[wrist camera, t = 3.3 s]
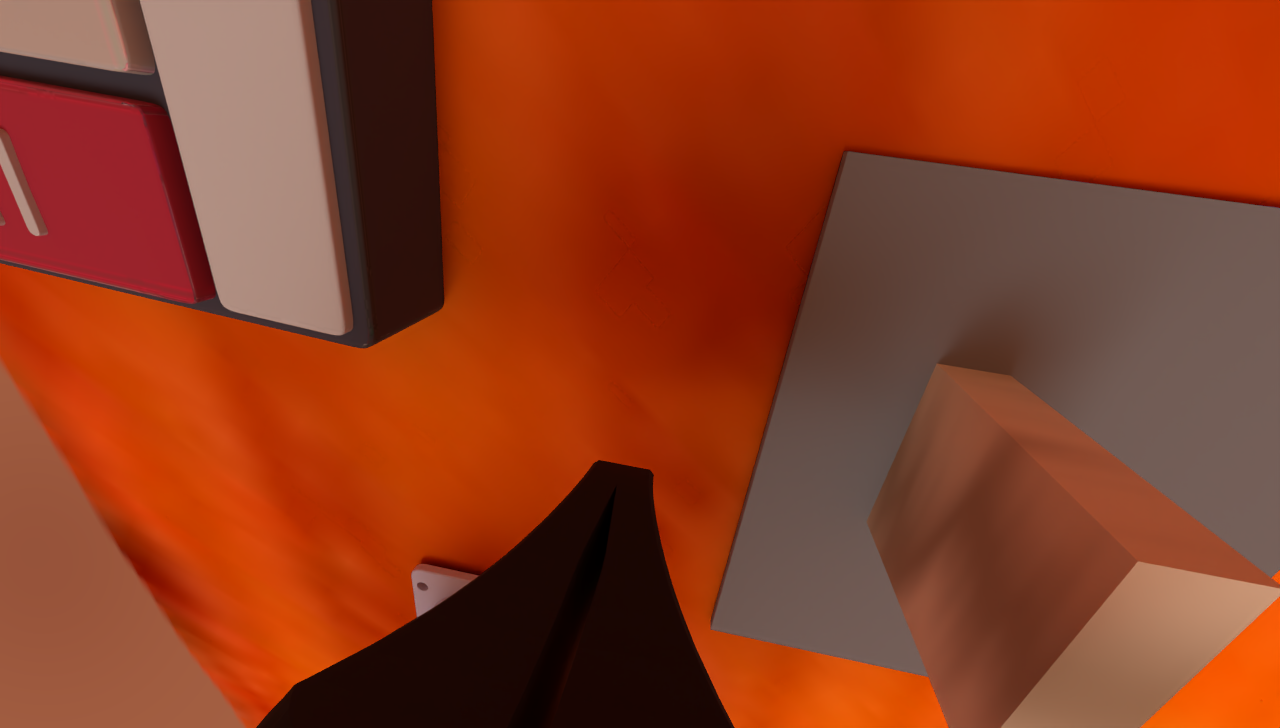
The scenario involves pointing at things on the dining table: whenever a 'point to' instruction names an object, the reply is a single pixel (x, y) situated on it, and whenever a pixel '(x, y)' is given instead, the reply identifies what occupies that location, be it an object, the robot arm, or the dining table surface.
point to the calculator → (228, 156)
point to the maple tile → (1047, 566)
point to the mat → (1005, 371)
